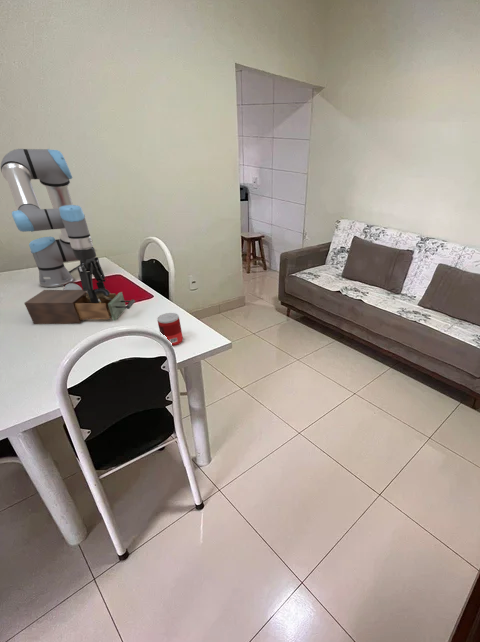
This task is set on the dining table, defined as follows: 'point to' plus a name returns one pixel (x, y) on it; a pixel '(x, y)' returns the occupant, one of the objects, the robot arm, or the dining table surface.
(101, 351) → the dining table surface
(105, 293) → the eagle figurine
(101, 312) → the drawer
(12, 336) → the dining table surface
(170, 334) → the canned food
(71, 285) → the ceramic mug
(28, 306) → the cabinet
